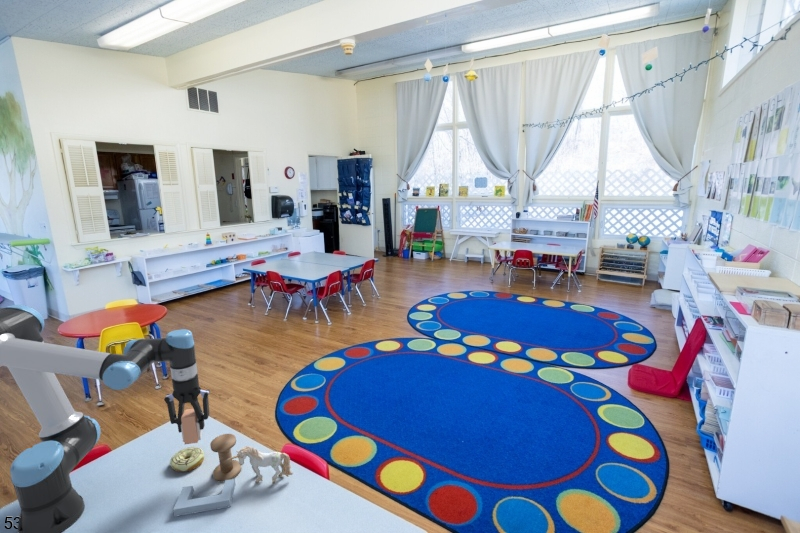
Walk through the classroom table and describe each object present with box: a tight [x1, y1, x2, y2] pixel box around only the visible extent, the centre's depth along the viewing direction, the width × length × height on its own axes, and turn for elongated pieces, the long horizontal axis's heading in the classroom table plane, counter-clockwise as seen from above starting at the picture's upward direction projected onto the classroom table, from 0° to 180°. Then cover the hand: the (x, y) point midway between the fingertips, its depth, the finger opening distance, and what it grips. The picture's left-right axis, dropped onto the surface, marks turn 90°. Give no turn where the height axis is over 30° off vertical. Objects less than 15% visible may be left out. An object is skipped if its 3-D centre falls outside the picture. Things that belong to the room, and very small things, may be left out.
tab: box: [181, 408, 200, 445], centre depth 133 cm, size 4×5×10 cm
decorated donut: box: [169, 446, 205, 473], centre depth 142 cm, size 10×11×4 cm
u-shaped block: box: [173, 478, 237, 517], centre depth 125 cm, size 16×9×2 cm, turn 102°
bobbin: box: [209, 433, 242, 483], centre depth 136 cm, size 9×9×12 cm
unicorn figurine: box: [227, 445, 294, 484], centre depth 132 cm, size 7×20×13 cm, turn 107°
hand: (192, 438), depth 134 cm, fingers closed on tab, 4 cm apart
